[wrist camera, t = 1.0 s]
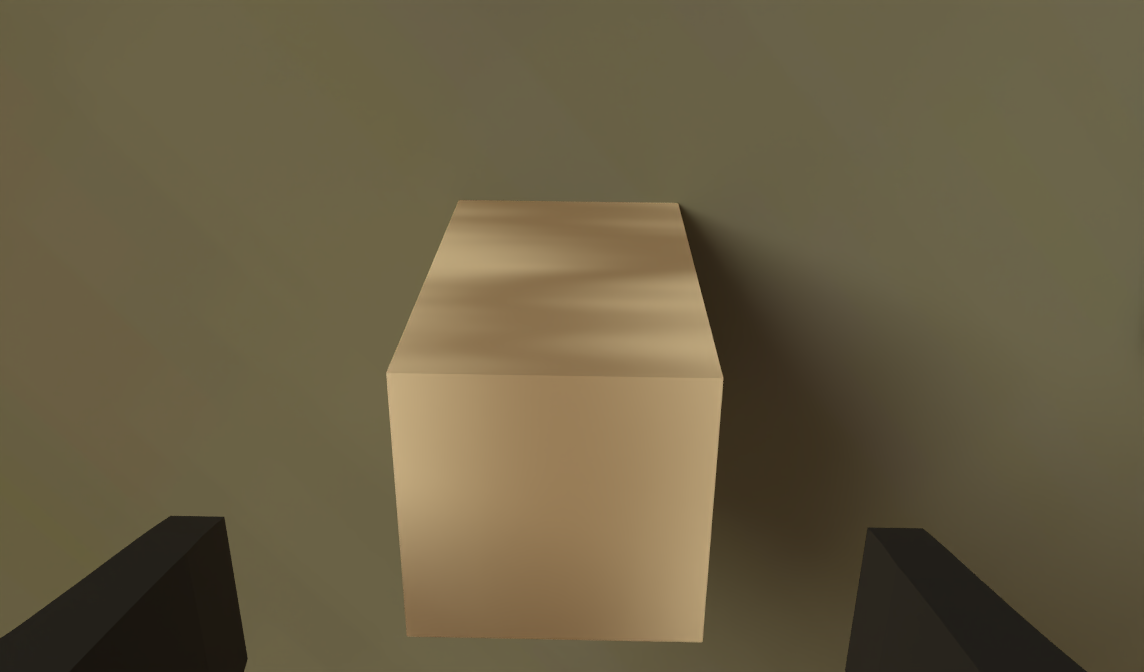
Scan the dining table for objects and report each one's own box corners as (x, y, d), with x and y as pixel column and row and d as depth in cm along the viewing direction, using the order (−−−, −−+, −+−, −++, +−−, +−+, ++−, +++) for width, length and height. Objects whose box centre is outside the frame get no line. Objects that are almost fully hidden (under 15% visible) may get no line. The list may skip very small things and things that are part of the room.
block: (678, 203, 18) (723, 378, 12) (668, 396, 20) (702, 641, 13) (458, 200, 18) (386, 373, 12) (466, 394, 20) (406, 636, 14)
